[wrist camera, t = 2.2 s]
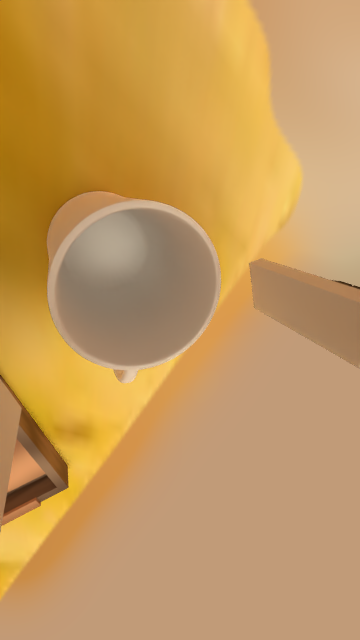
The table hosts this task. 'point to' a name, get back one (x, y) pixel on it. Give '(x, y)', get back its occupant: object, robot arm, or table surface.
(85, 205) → the mug
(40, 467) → the rack
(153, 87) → the table surface
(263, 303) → the robot arm
